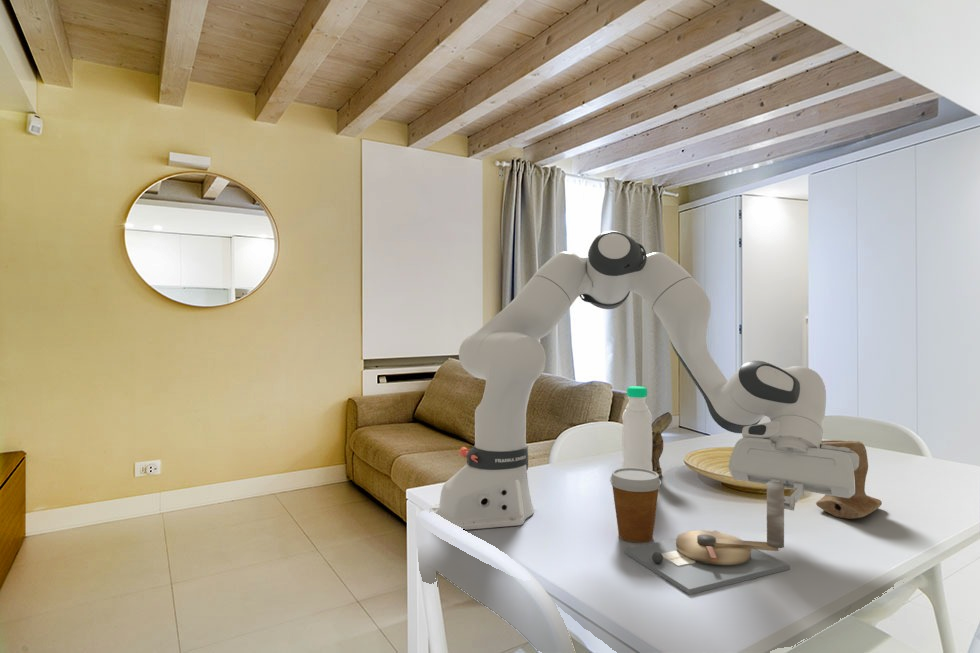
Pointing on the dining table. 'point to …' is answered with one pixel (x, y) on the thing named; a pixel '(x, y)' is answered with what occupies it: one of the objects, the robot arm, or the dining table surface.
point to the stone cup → (859, 501)
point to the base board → (701, 567)
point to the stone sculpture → (659, 440)
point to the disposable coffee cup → (635, 502)
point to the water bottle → (637, 430)
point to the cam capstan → (731, 548)
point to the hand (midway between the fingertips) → (784, 507)
